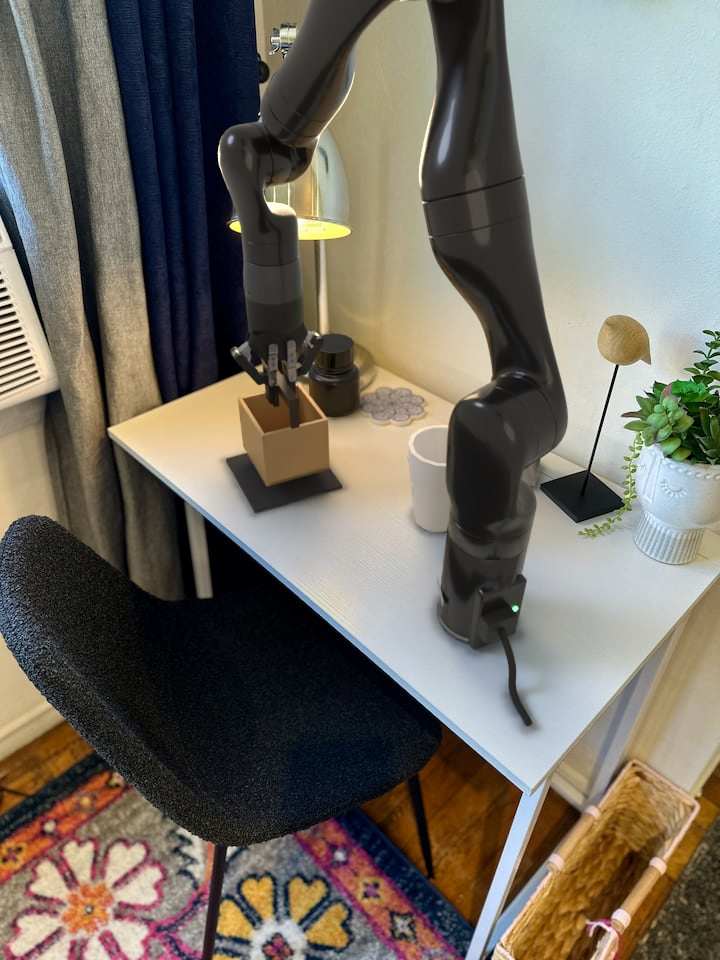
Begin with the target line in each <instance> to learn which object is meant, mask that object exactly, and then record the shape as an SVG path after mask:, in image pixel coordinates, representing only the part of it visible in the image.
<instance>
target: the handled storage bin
mask: <svg viewBox="0 0 720 960" xmlns="http://www.w3.org/2000/svg"><path fill="white" fill-rule="evenodd" d="M282 376H283V375H282V374H281V372H280V371H279V370H278V371H277V384H278V391H279V404H280V406H279V407H274V406H273V405H272V404H270V403H269V401H268V400H267V398H266V391H265V390H264V391H261V392H256V393H252V394H248V395H243V396H238V397H237V404H238V414H239V423H240V431H241V439H242V447H243V449H244V450H245V453H247V454H248V455H249V457H250V459H251V461H252V462H253V464H254V466H255V468H256V469H257V471H258V473H259V474H260V476H261V478H262V480H263V481H264V483H265V485H266V486H271V485H274V484H278V483H282V482H285V481H289V480H292V479H296V478H300V477H303V476H307V475H310V474H314V473H318V472H321V471H325V470H328V469H329V468H330V443H329V442H330V433H329V431H330V429H329V418H327V415H325V414H324V413H323V412H322V411H321V410H320V408H319V407H318V406H317V404H316V403H315V402H314V401H313V399H312V398H311V397H310V395H309V392H308V391H307V390H306V389H305V387H304V386H303V384H302V383H300V382H299V383H296V394H295V393H294V391H293V390H292V389H291V387H290V386H289V385H288V383H287V382H286V381H285V379H284V378H283V377H282Z"/></svg>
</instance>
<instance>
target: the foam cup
mask: <svg viewBox="0 0 720 960" xmlns="http://www.w3.org/2000/svg"><path fill="white" fill-rule="evenodd" d="M447 432H448V424H446V425H444V424H443V425H441V424H434V425H429V426H425V427H422V428H419V429H418V430H416V431H415V432H413V433H412V434H411V435H410V438H409V440H408V443H407V453H406V454H407V456H406V459H407V461H408V467H409V473H410V474H409V476H410V477H409V478H410V485H411V486H410V487H411V498H412V506H413V514H414V516H413V517H414V520H415V522H416V524H417V525H418V526H419V527H420V528H422V529H423V530H426V531H429V532H432V533H444V532H447V526H448V517H449V509H450V498H449V495H448V492H447V488H446V480H445V473H446V449H447Z"/></svg>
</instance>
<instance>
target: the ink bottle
mask: <svg viewBox="0 0 720 960" xmlns="http://www.w3.org/2000/svg"><path fill="white" fill-rule="evenodd" d="M320 336H321V337H322V339H323V340H324V343H323V345H322V347H321V349H320V351H319V353H318V355H317V357H316V358H315V360H314V362H313V364H312V366H311V368H310V370H309V372H308V394H309V395H310V397H311V398H312V399H313V401H314V402H315V403H316V404H317V406H318V407H319V408H320V410H321V411H322V412H323V413H324V415H325V416H329V417H330V416H331V417H334V416H343V415H347V414H349V413H352V412H353V411H355V410H356V409H358V407H359V405H360V404H361V403H360V402H361V373H360V372H361V371H360V368H359V367H358V365H357V364H356V363H355V362H354V361H355V358H354V357H355V341H354V340H353V338H352V337H350V336H348V335H346V334H342V333H325V334H323V335H320Z"/></svg>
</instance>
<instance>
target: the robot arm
mask: <svg viewBox="0 0 720 960" xmlns="http://www.w3.org/2000/svg"><path fill="white" fill-rule="evenodd" d="M418 1H420V2H421V0H309V4H308V6H307V9H306V11H305V14H304V17H303V19H302V21H301V24H300V27H299V30H298V31H297V34H296V36H295V38H294V40H293V42H292V44H291V46H290V48H289V49H288V51H287V53H286V55H285V56H284V57H283V60H282V61H281V63H280V65H279V66H278V68H277V70H276V71H275V73H274V74H273V76H272V78H271V79H270V81H269V83H268V85H267V86H266V88H265V91H264V92H263V94H262V97H261V99H260V106H259V114H260V121H252V122H248V123H247V122H246V123H242V124H236V125H233V126H231V127H229V128H227V129H226V130H225V131H224V132H223V134H222V136H221V138H220V140H219V145H218V151H217V155H218V156H217V158H218V166H219V168H220V171H221V174H222V178H223V180H224V182H225V185H226V188H227V190H228V193H229V195H230V198H231V201H232V205H233V207H234V210H235V212H236V216H237V219H238V222H239V227H240V235H241V243H242V245H241V246H242V255H243V268H242V278H243V285H242V286H243V291H244V297H245V298H244V299H245V308H246V309H245V310H246V319H247V328H248V329H247V332H246V335H245V342H244V343H242V344H241V345H240V346H239V347H237V346H233V347H232V348H230V351H229V353H230V355H231V356H232V357H233V359H234V361H235V362H236V363H237V364H238V365H239V366H240V368H241V369H243V371H244V372H245V373H246V374H247V375H248V376H249V377H250V378H251V380H252V381H253V382H254V383H255V384H256V385H257V386H262V385H264V391H266V398H267V400H268V401H269V403H270V404H272V405H273V406H274V407H279V406H280V404H279V391H278V384H277V371H279V366H278V365H279V364H278V362H281V366H282V373H283V375H282V377H283V378H284V379H285V381H286V382H287V383H288V385H289V386H290V387H291V389H292V390H293V391H294V393H295V394H296V384H297V383H296V381H297V378H299V377H300V376H306V375H308V374H309V370H310V368H311V366H312V365H313V364H314V363H315V362H314V360H315V358H316V357H317V355H318V353H319V351H320V349H321V347H322V345H323V343H324V340H323V339H322V337H321V336H322V335H320V333H318V332H317V331H316V330H312V331H310V330H308V328H307V326H306V325H305V308H304V285H303V269H302V263H301V258H300V257H301V256H300V239H299V223H298V217H297V213H296V211H295V210H294V209H293V208H292V207H291V206H289V205H287V204H284V203H280V202H279V203H278V202H268V201H267V200H266V197H265V189H270V188H273V187H278V186H282V185H287V184H290V183H293V182H295V181H297V180H299V179H300V178H302V176H303V175H305V174H306V173H307V171H309V169H310V167H311V166H312V163H313V160H314V156H315V153H316V150H317V147H318V143H319V140H320V137H321V134H322V133H323V131H324V130H325V129H326V128H327V126H328V125H329V124H330V123H331V121H332V120H333V118H334V117H335V116H336V114H337V113H338V112H339V111H340V109H341V108H342V106H343V105H344V103H345V101H346V100H347V98H348V96H349V93H350V91H351V89H352V86H353V82H354V77H355V71H356V51H357V50H356V48H357V45H358V42H359V40H360V39H361V37H362V35H363V34H364V32H365V31H366V30H367V29H368V28H369V26H371V24H372V23H373V22H374V21H375V20H376V19H377V18H378V17H379V16H380V15H381V14H382V13H383V12H384V11H385V10H386V9H388V8H389V7H390V6H391V5H393V4H394V3H395V2H398V3H399V2H403V3H407V2H408V3H409V2H410V3H411V2H418ZM425 1H426V5H427V9H428V13H429V17H430V22H431V28H432V34H433V35H432V36H433V39H434V40H433V41H434V42H433V43H434V48H435V56H436V57H435V58H436V82H435V83H436V84H435V92H434V97H433V102H432V108H431V111H430V115H429V119H428V124H427V127H426V132H425V135H424V140H423V145H422V149H421V155H420V161H419V171H418V185H419V193H420V200H421V201H422V203H421V204H422V209H423V214H424V219H425V224H426V229H427V236H428V239H429V244H430V247H431V251H432V254H433V257H434V259H435V261H436V263H437V265H438V266H439V268H440V270H441V271H442V273H443V274H444V276H445V277H446V278H447V280H448V281H449V282H450V284H451V285H452V286H453V287H454V289H455V290H456V291H457V292H458V294H459V295H460V297H462V299H463V300H464V301H465V302H466V303H467V304H468V306H469V307H470V309H471V310H472V311H473V313H474V314H475V316H476V318H477V319H478V321H479V323H480V325H481V328H482V330H483V334H484V336H485V339H486V344H487V349H488V352H489V353H488V354H489V357H490V358H489V359H490V366H491V374H492V375H491V378H492V382H491V381H490V382H488V383H487V384H485V385H483V386H481V387H479V388H478V389H476V390H474V391H472V392H471V393H469V394H467V395H465V396H463V397H461V399H459V400H458V401H457V403H456V404H455V406H454V407H453V409H452V411H451V414H450V417H449V420H448V424H447V426H448V432H447V449H446V473H445V480H446V488H447V492H448V495H449V498H450V509H449V517H448V526H447V531H446V536H445V543H444V552H443V561H442V569H441V579H440V578H439V577H437V580H436V581H437V583H436V584H437V589H438V593H439V597H438V602H437V605H436V606H437V607H436V616H437V619H438V622H439V624H440V626H441V628H442V629H443V630H444V631H445V632H446V633H447V634H448V635H449V636H451V637H452V638H455V640H458V641H460V642H462V643H465V644H468V645H469V646H470V648H471V649H472V650H473V651H474V650H478V649H480V648H483V647H485V646H488V645H490V644H493V643H497V642H499V641H501V644H502V646H503V650H504V653H505V657H506V660H507V661H506V662H507V668H508V681H507V683H508V691H509V696H510V700H511V702H512V704H513V707H514V708H515V710H516V712H517V713H518V714H519V716H520V718H521V720H522V722H523V724H524V725H525V727H529V726H531V725H533V720H532V719H531V717H530V715H529V713H528V711H527V710H526V708H525V706H524V704H522V703H523V702H522V701H521V698H520V696H519V693H518V688H517V664H516V663H517V662H516V659H515V658H516V657H515V655H514V650H513V648H512V645H511V642H510V639H509V637H510V636H512V635H515V634H516V632H517V628H518V623H519V618H520V614H521V610H522V606H523V601H524V596H525V592H526V588H527V584H528V580H527V578H526V577H525V575H524V574H523V571H524V567H525V561H526V557H527V552H528V547H529V544H530V539H531V535H532V530H533V524H534V520H535V517H536V512H537V506H538V505H537V503H538V502H537V496H536V493H535V492H534V491H535V490H534V489H533V488H532V486H530V485H529V484H528V483H527V482H525V481H524V480H523V479H521V477H522V474H523V471H524V469H526V468H527V467H529V466H530V465H532V464H533V463H535V462H536V461H538V460H539V459H542V458H544V457H545V456H546V455H548V454H549V453H551V452H552V451H553V450H554V449H556V448H557V447H558V446H559V444H560V443H561V442H562V440H563V439H564V437H565V435H566V433H567V429H568V424H569V412H568V411H569V410H568V409H569V408H568V403H567V398H566V393H565V388H564V385H563V381H562V377H561V372H560V368H559V365H558V361H557V358H556V357H557V356H556V353H555V350H554V346H553V342H552V338H551V334H550V331H549V325H548V321H547V318H546V317H547V316H546V311H545V305H544V299H543V293H542V287H541V286H542V285H541V280H540V275H539V269H538V263H537V257H536V251H535V245H534V236H533V229H532V227H533V226H532V218H531V217H532V216H531V212H530V211H531V210H530V203H529V196H528V189H527V182H526V177H525V169H524V165H523V160H522V155H521V149H520V143H519V142H520V141H519V137H518V129H517V128H518V127H517V120H516V113H515V104H514V98H513V96H514V95H513V88H512V87H513V86H512V81H511V80H512V79H511V73H510V72H511V71H510V65H509V56H508V55H509V54H508V45H507V33H506V32H507V29H506V17H505V16H506V15H505V0H425ZM302 345H303V346H302ZM301 347H302V348H301ZM300 348H301V350H300ZM299 350H300V352H299ZM251 351H253V352H254V353H255V354H256V355H257V356H258V357H259V358H260V361H261V365H262V371H260V370H258V368H256V366H255V365H254V364H253V363H252V362H251V361H252V358H253V357H252V354H251ZM298 352H299V354H298V355H297V353H298Z"/></svg>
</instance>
